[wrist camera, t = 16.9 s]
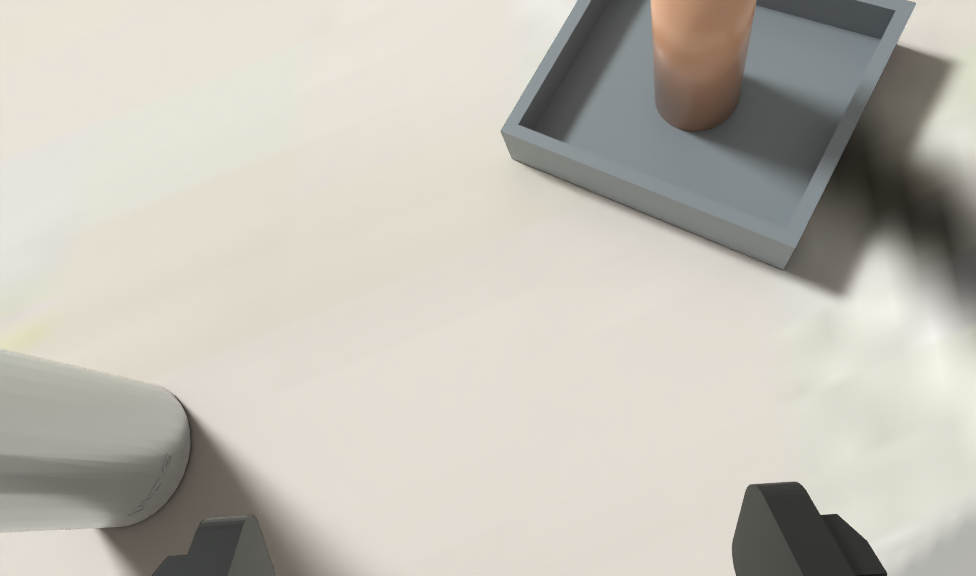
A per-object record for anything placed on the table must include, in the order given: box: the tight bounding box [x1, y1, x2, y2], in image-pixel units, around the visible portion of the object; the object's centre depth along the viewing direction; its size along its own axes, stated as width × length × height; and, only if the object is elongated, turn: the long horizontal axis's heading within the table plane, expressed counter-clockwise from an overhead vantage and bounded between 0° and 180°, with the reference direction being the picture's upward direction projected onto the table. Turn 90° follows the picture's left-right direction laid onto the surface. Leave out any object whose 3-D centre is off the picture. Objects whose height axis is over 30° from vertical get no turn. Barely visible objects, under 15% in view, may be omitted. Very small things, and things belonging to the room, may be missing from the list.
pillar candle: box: [651, 0, 757, 131], centre depth 34 cm, size 5×5×14 cm
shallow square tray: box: [501, 0, 916, 270], centre depth 40 cm, size 18×16×4 cm
